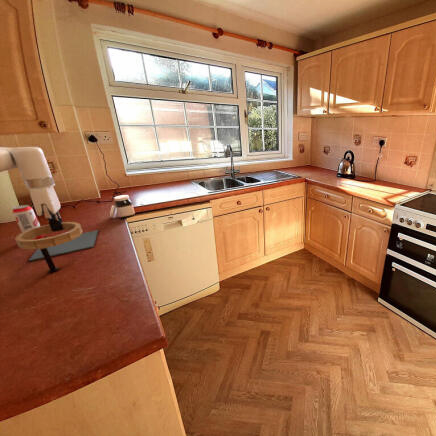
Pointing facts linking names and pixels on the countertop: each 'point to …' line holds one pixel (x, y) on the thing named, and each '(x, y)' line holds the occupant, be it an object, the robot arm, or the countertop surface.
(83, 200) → the countertop surface
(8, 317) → the countertop surface
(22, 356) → the countertop surface
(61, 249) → the mat
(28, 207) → the beer can
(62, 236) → the hoop
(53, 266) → the post stand
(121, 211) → the spread jar
